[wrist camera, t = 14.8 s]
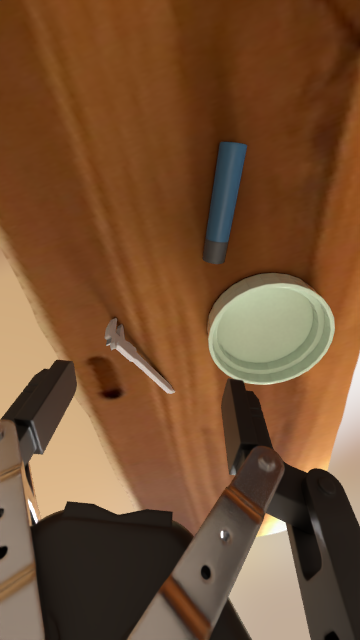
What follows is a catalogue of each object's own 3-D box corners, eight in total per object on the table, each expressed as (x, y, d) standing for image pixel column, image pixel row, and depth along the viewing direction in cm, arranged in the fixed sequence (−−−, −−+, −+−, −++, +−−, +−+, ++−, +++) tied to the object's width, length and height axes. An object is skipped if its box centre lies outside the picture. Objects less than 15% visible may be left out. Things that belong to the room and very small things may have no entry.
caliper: (111, 318, 44) (99, 339, 39) (116, 316, 44) (105, 336, 39) (171, 392, 53) (168, 417, 48) (175, 390, 53) (173, 415, 47)
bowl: (217, 265, 39) (220, 276, 35) (341, 279, 39) (357, 291, 35) (200, 361, 48) (200, 378, 45) (298, 372, 49) (307, 389, 45)
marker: (223, 144, 31) (216, 140, 29) (249, 146, 30) (244, 143, 28) (206, 255, 38) (199, 260, 36) (226, 260, 37) (221, 265, 35)
